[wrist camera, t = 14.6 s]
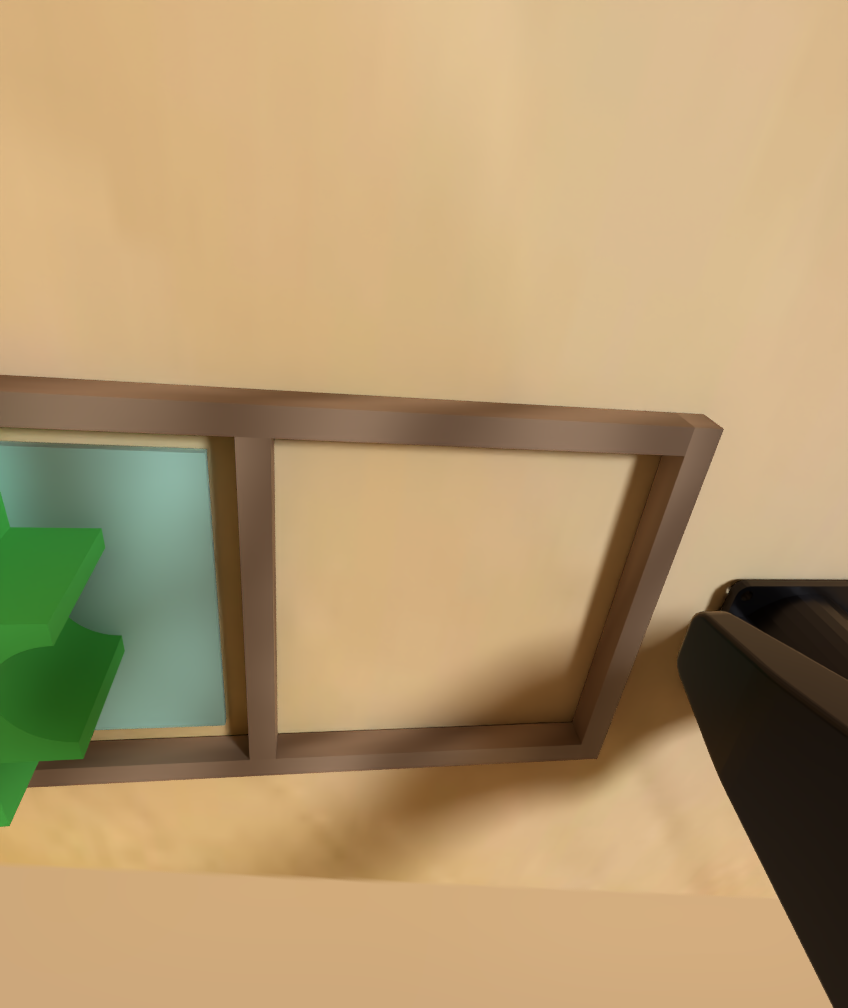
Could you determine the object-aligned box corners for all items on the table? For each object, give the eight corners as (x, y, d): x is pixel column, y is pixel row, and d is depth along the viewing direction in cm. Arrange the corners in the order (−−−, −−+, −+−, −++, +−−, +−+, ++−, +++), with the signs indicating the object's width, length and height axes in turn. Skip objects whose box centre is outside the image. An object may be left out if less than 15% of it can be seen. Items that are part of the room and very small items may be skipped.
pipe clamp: (137, 706, 23) (99, 821, 20) (29, 710, 23) (-31, 830, 19) (85, 439, 18) (18, 527, 14) (-60, 434, 17) (-173, 524, 13)
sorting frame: (703, 414, 20) (723, 429, 19) (587, 736, 28) (597, 758, 27) (-341, 355, 15) (-387, 371, 14) (-127, 767, 23) (-147, 796, 22)
